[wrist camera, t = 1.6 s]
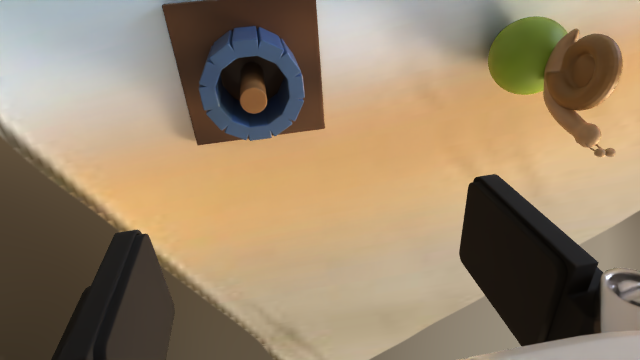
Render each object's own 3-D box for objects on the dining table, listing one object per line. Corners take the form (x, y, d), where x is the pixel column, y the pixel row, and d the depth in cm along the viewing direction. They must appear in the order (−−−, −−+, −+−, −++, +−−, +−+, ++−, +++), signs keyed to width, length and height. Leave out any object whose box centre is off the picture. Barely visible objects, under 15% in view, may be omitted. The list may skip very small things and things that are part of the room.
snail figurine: (464, 94, 33) (565, 160, 22) (484, 10, 29) (612, 42, 19) (523, 94, 34) (646, 157, 23) (549, 13, 30) (704, 45, 20)
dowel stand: (163, 4, 26) (140, 19, 20) (313, -11, 27) (332, 0, 21) (198, 142, 31) (187, 185, 25) (323, 125, 32) (340, 163, 26)
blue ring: (196, 31, 26) (188, 45, 23) (291, 21, 27) (298, 34, 23) (216, 120, 30) (212, 146, 26) (300, 110, 30) (308, 133, 27)
